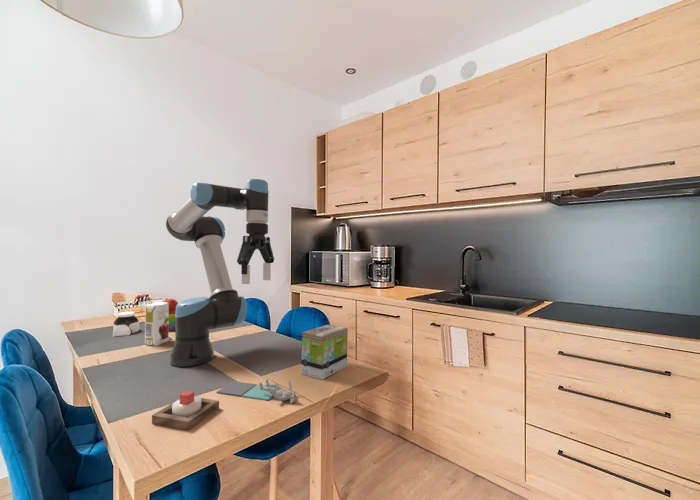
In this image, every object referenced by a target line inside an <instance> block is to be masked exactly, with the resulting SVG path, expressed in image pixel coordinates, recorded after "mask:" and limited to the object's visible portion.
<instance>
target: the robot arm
mask: <svg viewBox="0 0 700 500" xmlns="http://www.w3.org/2000/svg"><path fill="white" fill-rule="evenodd" d="M245 185H246V186H245V188H240V187H234V186H225V185H219V184H212V183H208V182H195V183H193V185H192V186H191V188H190V198H189V199H188V200H187V201H186V202H185V203H184V204H183V205H182V207H180V208H179V209H178V210H177V211H173V212H172V213H171V214H169V215H168V216H167V218H166V221H165V222H166V223H165V227H166V230H167V232H168V233H169V234H170V235H171V236H172V237H173V238H175V239H177V240H179V241H184V242H194V244H195V245H194V246H196V248H197V249H199V250H200V252H201V256H202V262H203V265H204V266H203V267H204V270H205V273H206V278H207V281H208V286H209V290H210V294H211V295H210V296H209V297H208V296H201V297H200V296H199V297H198V296H197V297H191V298H188V299H184V300H180V301H179V302H178V304H177V305H176V312H175V330H174V331H175V334H174V335H175V336H174V337H175V339H174V340H175V341H174V344H173V348H172V351H171V353H170V356H169V364H170V365H171V366H174V367H180V368H182V367H194V366H198V365H203V364H206V363H209V362H210V361H212V360H213V359H214V358H215V357H214V356H215V352H214V349H213V346H212V343H211V340H210V331H212V330H216V329H223V328H227V327H228V328H229V327H234V326H237V325H241V324H242V323H243V322H245V320H246V317H247V311H248V304H247V300H246V298H245V297H244V296H241V295H240V296H239V294H238V290H236V289H235V288H233V285H232V282H231V279H230V275H229V274H230V273H229V271H228V268H227V267H228V266H227V264H226V260H225V257H224V253H223V249H222V247H221V244H222V243H223V241H224V239H225V237H226V232H225V231H226V227H225V224H224V222H223V220H221V219H220V218H219V217H214V216H211V215H210V216H205V215H206V214H207V213H208V212H209V211H211V210H212V209H213V208H215V207H220V208H221V207H222V208H228V209H229V208H231V209H234V210H237V211H238V210H241V211H243V210H246V212H245V213H246V214H245V215H246V216H245V217H246V218H245V221H246V222H247V223H246V226H245V227H246V228H245V229H246V230H245V231H246V234H248V235H242V242H241V243H242V244H241V246H240V250H239V253H238V256H237V259H236V262H237V264H238V265H240V266H241V271H240V274H241V285H250V284H251V265H250V264H249V263H250V261H251V260H252V257H253V255H254V253H255V252H256V250H258V251H259V252H260V255H261V258H262V259H263V262H262V263H263V264H262V267H263V269H262V274H263V275H262V280H263V281H271V276H272V274H271V272H272V271H271V269H272V268H271V267H272V266H271V264H273V263H274V262H275V257H274V253H273V249H272V245H271V238H270V237H269V236H266V235H267V234H269V225H268V222H269V192H270V191H269V184H268V181H267V180H264V179H260V178H250V179H248V180H247V181H246V184H245Z"/></svg>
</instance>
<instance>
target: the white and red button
mask: <svg viewBox="0 0 700 500" xmlns="http://www.w3.org/2000/svg"><path fill="white" fill-rule="evenodd" d="M201 398H202V397H199V396H195V391H193V390H192V391H191V390H185V391H184V392H181V393H180V394H179V399H177V400H176V401H174V402H172V403H173V404H172V403H171V404H172V415H175V416H181V417H187V418H188V417H190V416H191V415H193V414H194V413H196V412H197V411H199V410H200V409H201Z"/></svg>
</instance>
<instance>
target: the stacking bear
mask: <svg viewBox="0 0 700 500" xmlns="http://www.w3.org/2000/svg"><path fill="white" fill-rule="evenodd" d="M163 302H166V303H169V332H173V331H175V312H176V305H177V304H178V303H179V302H178V301H177V300H176V299H173V298H165V300H164V301H163Z"/></svg>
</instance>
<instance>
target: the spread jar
mask: <svg viewBox="0 0 700 500" xmlns="http://www.w3.org/2000/svg"><path fill="white" fill-rule="evenodd" d="M135 313H136V312H135V311H122V312H118V313H117V318H116V319H115V320H114V321H113V326H112V327H113V328H112V329H113V331H112V337H113V338H115V337H120V336H121V337H122V336H123V337H124V336H130V335H131V334H133V333H137V332H139V331H140V330H139V329H140V320H139V318H138V317H137V316H135Z"/></svg>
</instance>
